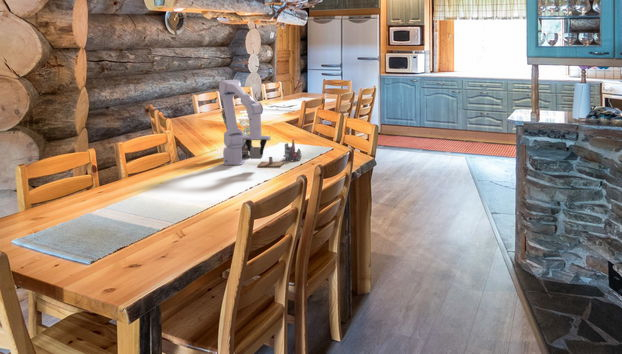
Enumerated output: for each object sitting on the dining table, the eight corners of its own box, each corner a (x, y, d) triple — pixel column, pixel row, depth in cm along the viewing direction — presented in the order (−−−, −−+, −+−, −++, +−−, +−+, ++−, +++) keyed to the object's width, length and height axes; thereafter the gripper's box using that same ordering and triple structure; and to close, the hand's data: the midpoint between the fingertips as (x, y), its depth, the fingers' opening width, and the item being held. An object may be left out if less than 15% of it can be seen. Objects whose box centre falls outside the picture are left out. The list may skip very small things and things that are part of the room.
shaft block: (257, 167, 292) (257, 158, 291) (261, 163, 302) (261, 155, 301) (280, 167, 291) (280, 158, 290) (283, 163, 300) (283, 155, 299)
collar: (250, 158, 283) (250, 148, 282) (252, 156, 288) (252, 147, 286) (260, 158, 282) (259, 148, 281) (262, 156, 287) (262, 147, 286)
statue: (224, 163, 313) (208, 110, 312) (230, 162, 332) (215, 112, 330) (253, 154, 312) (237, 102, 311) (257, 154, 331) (242, 104, 329)
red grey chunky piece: (304, 157, 304) (290, 139, 303) (288, 169, 307) (274, 151, 305) (306, 153, 315) (293, 136, 314) (291, 164, 318) (277, 148, 316)
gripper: (239, 128, 278) (240, 156, 281) (268, 128, 277) (269, 156, 280) (242, 126, 285) (243, 153, 288) (270, 126, 283) (271, 153, 287)
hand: (256, 154), depth 284 cm, fingers closed on collar, 5 cm apart
